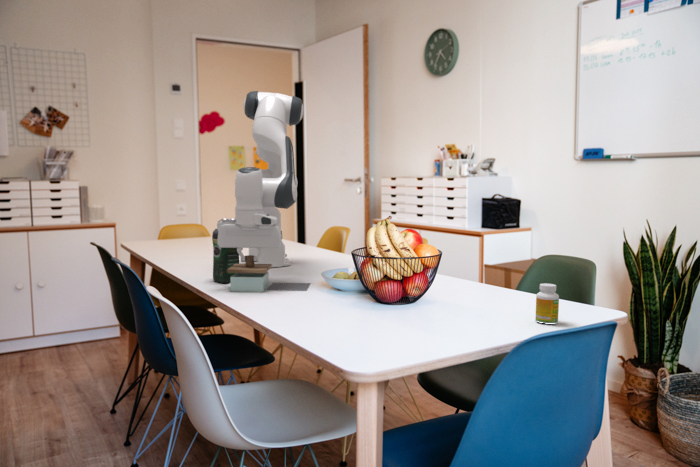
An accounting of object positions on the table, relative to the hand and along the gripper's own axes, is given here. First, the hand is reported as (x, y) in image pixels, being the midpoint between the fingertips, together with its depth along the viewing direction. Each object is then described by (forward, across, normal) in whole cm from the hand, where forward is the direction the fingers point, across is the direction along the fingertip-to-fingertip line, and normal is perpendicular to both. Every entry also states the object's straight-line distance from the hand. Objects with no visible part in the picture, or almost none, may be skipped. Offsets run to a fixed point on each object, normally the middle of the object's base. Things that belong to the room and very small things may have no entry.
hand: (249, 261), depth 183 cm
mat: (+9, +12, +4) cm, 16 cm away
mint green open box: (+9, 0, 0) cm, 9 cm away
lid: (+3, 0, 0) cm, 3 cm away
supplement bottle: (+9, +83, -37) cm, 91 cm away
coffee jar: (+9, -11, +14) cm, 20 cm away
